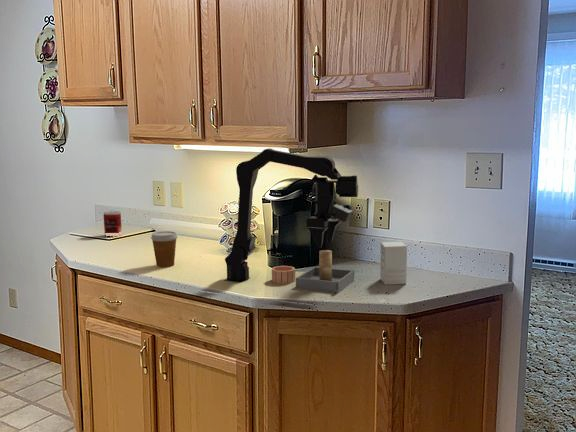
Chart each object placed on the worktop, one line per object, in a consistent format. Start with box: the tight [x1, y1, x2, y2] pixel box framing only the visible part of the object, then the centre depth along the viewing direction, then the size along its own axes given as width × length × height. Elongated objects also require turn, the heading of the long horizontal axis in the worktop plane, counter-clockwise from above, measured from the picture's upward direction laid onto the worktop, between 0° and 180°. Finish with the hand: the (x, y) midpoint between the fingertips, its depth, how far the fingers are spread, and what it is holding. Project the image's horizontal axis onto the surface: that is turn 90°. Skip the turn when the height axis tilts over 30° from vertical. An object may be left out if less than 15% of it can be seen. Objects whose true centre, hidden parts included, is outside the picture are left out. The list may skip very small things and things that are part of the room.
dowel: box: [318, 249, 333, 281], centre depth 199 cm, size 4×4×10 cm
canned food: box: [103, 210, 122, 234], centre depth 286 cm, size 8×8×11 cm
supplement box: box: [379, 241, 408, 285], centre depth 202 cm, size 7×7×13 cm
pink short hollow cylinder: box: [271, 265, 296, 285], centre depth 203 cm, size 8×8×4 cm
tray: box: [295, 266, 355, 294], centre depth 199 cm, size 14×16×4 cm
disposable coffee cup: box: [150, 230, 178, 268], centre depth 227 cm, size 10×10×12 cm
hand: (325, 245), depth 198 cm, fingers open, 9 cm apart
